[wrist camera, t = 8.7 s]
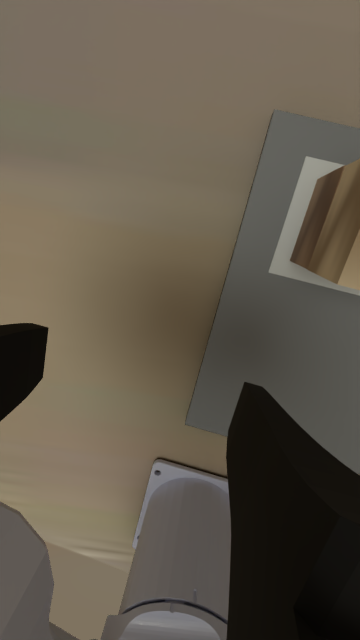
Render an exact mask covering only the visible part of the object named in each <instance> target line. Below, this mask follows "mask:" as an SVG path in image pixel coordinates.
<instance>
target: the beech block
mask: <svg viewBox="0 0 360 640" xmlns="http://www.w3.org/2000/svg"><path fill="white" fill-rule="evenodd" d="M307 270H309V271H311V272H313V273H315V274H317V275H319V276H321V277H323V278H325V279H327V280H329V281H331V282H333V283H335V284H337V285H341V286H345V287H349V288H353V289H356V290H360V159H358V160H356V161H354V162H352V163H350V164H348V165H346V166H345V169H344V171H343V174H342V177H341V179H340V182H339V185H338V188H337V190H336V193H335V196H334V198H333V201H332V204H331V207H330V209H329V212H328V215H327V217H326V220H325V223H324V225H323V228H322V231H321V234H320V236H319V239H318V242H317V244H316V247H315V250H314V253H313V255H312V258H311V261H310V263H309V266H308V269H307Z"/></svg>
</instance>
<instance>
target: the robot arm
mask: <svg viewBox="0 0 360 640" xmlns="http://www.w3.org/2000/svg"><path fill="white" fill-rule="evenodd" d="M47 335H48V328H47V327H44V326H40V325H36V324H33V323H19V324H8V325H0V421H1V420H2V419H3V418H5V417H6V416H7V415H8V414H9V413H10V412H11V411H12V410H13V409H15V408H16V407H17V406H18V405H19V404H20V403H21V402H22V401H23V400H24V399H25V398H26V397H27V396H28V395H29V394H30V393H31V392H32V390H33V389H34V388H35V387H36V386H37V384H38V383H39V382H40V381H41V379H42V378H43V371H44V362H45V353H46V344H47ZM226 459H227V475H228V479H226V478H223V477H219V476H216V475H212V474H209V473H205V472H202V471H199V470H195V469H192V468H188V467H185V466H182V465H178V464H175V463H171V462H168V461H164V460H161V459H157V460H155V461H154V463H153V467H152V471H151V474H150V478H149V482H148V486H147V490H146V494H145V498H144V501H143V505H142V509H141V513H140V517H139V521H138V525H137V528H136V532H135V536H134V540H133V544H132V546H133V548H134V549H135V554H134V558H133V562H132V565H131V569H130V573H129V577H128V580H127V584H126V588H125V591H124V595H123V599H122V602H121V606H120V610H119V614H118V615H108V616H107V619H106V623H105V626H104V630H103V633H102V636H101V640H360V475H358V474H357V473H355V472H354V471H352V470H351V469H350V468H348V467H347V466H346V465H344V464H343V463H342V462H340V461H339V460H338V459H337V458H336V457H334V456H333V455H332V454H331V453H329V452H328V451H327V450H326V449H324V448H323V447H322V446H321V445H320V444H319V443H318V442H316V441H315V440H314V439H313V438H312V437H311V436H310V435H309V434H308V433H307V432H306V431H305V430H304V429H303V428H301V427H300V426H299V425H298V424H297V422H296V421H295V420H294V419H293V418H292V417H291V416H290V415H289V414H288V413H287V412H286V411H285V410H284V409H283V408H282V407H281V406H280V404H279V403H278V402H277V401H276V400H275V399H274V398H273V397H272V396H271V395H270V394H269V393H268V391H267V390H265V389H264V388H263V387H262V386H259V385H255V384H252V383H248V382H244V384H243V387H242V390H241V393H240V396H239V399H238V402H237V405H236V408H235V411H234V414H233V417H232V420H231V423H230V426H229V429H228V438H227V453H226ZM156 470H159V471H160V472H157V471H156ZM53 587H54V581H53V576H52V571H51V566H50V560H49V555H48V550H47V547H46V544H45V542H44V541H43V539H42V538H41V537H40V536H39V535H38V533H37V532H36V531H35V530H34V529H33V527H32V526H31V525H30V524H29V523H28V521H27V520H26V519H25V518H24V517H23V516H22V514H21V513H20V512H19V511H17V510H15V509H13V508H11V507H9V506H7V505H6V504H4V503H2V502H0V640H79V639H77V638H76V637H74V636H72V635H71V634H69V633H67V632H66V631H64V630H63V629H61V628H59V627H57V626H56V625H54V624H53V623H51V622H49V612H50V605H51V599H52V594H53ZM91 640H96V639H91Z"/></svg>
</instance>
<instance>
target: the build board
mask: <svg viewBox="0 0 360 640" xmlns="http://www.w3.org/2000/svg"><path fill="white" fill-rule="evenodd" d="M358 159H360V129H359V128H355V127H351V126H346V125H342V124H337V123H333V122H328V121H324V120H319V119H315V118H311V117H306V116H302V115H297V114H293V113H288V112H284V111H279V110H275V109H274V112H273V114H272V117H271V121H270V124H269V128H268V131H267V135H266V138H265V142H264V145H263V149H262V152H261V156H260V159H259V163H258V167H257V170H256V174H255V177H254V181H253V184H252V188H251V191H250V195H249V198H248V202H247V205H246V209H245V212H244V216H243V219H242V223H241V227H240V230H239V234H238V237H237V241H236V244H235V248H234V251H233V255H232V258H231V262H230V265H229V269H228V272H227V276H226V279H225V283H224V287H223V290H222V294H221V297H220V301H219V304H218V308H217V311H216V315H215V318H214V322H213V325H212V329H211V332H210V336H209V339H208V343H207V347H206V350H205V354H204V357H203V361H202V364H201V368H200V371H199V375H198V378H197V382H196V385H195V389H194V392H193V396H192V399H191V403H190V407H189V410H188V414H187V417H186V422H185V425H188V426H192V427H195V428H199V429H202V430H206V431H209V432H213V433H217V434H220V435H224V436H227V437H228V429H229V426H230V423H231V420H232V417H233V414H234V411H235V408H236V405H237V402H238V399H239V396H240V393H241V390H242V387H243V384H244V382H248V383H252V384H255V385H259V386H262V387H263V388H264V389H265V390H267V391H268V393H269V394H270V395H271V396H272V397H273V398H274V399H275V400H276V401H277V402H278V403H279V404H280V406H281V407H282V408H283V409H284V410H285V411H286V412H287V413H288V414H289V415H290V416H291V417H292V418H293V419H294V420H295V421H296V422H297V424H298V425H299V426H300V427H301V428H303V429H304V430H305V431H306V432H307V433H308V434H309V435H310V436H311V437H312V438H313V439H314V440H315V441H316V442H318V443H319V444H320V445H321V446H322V447H323V448H324V449H326V450H327V451H328V452H329V453H331V454H332V455H333V456H334V457H336V458H337V459H338V460H339V461H340V462H342V463H343V464H344V465H346V466H347V467H348V468H350V469H351V470H352V471H354V472H355V473H357V474H360V290H356V289H353V288H349V287H345V286H341V285H337V284H335V283H333V282H331V281H329V280H327V279H325V278H323V277H321V276H319V275H317V274H315V273H313V272H311V271H309V270H307V269H306V268H304V267H302V266H299V265H297V264H295V263H293V262H291V261H290V258H291V255H292V252H293V249H294V246H295V244H296V241H297V238H298V235H299V232H300V229H301V226H302V223H303V220H304V217H305V214H306V211H307V208H308V205H309V202H310V199H311V197H312V194H313V191H314V188H315V185H316V182H317V179H319V178H321V177H323V176H325V175H326V174H328V173H330V172H332V171H334V170H336V169H338V168H340V167H342V166H344V165H348V164H350V163H352V162H354V161H356V160H358Z"/></svg>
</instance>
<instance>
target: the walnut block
mask: <svg viewBox="0 0 360 640" xmlns="http://www.w3.org/2000/svg"><path fill="white" fill-rule="evenodd" d="M345 166H346V165H344V166H342V167H340V168H338V169H336V170H334V171H332V172H330V173H328V174H326V175H325V176H323V177H321V178H319V179H317V182H316V185H315V188H314V191H313V194H312V197H311V199H310V202H309V205H308V208H307V211H306V214H305V217H304V220H303V223H302V226H301V229H300V232H299V235H298V238H297V241H296V244H295V246H294V249H293V252H292V255H291V258H290V261H291V262H293V263H295V264H297V265H299V266H302V267H304V268H306V269H308V266H309V263H310V261H311V258H312V255H313V253H314V250H315V247H316V244H317V242H318V239H319V236H320V234H321V231H322V228H323V225H324V223H325V220H326V217H327V215H328V212H329V209H330V207H331V204H332V201H333V198H334V196H335V193H336V190H337V188H338V185H339V182H340V179H341V177H342V174H343V171H344V169H345Z"/></svg>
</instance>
